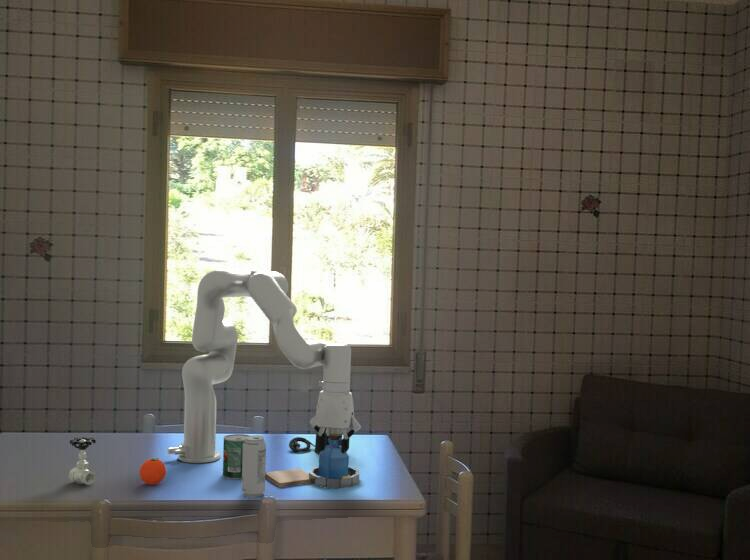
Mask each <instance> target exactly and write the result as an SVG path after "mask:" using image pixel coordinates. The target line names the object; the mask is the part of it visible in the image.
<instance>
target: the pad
mask: <svg viewBox="0 0 750 560" xmlns="http://www.w3.org/2000/svg"><path fill="white" fill-rule="evenodd" d="M265 480H268V481H269V482H271V483H272V484H274V485H275V486H276V487H278V488H279V487H280V488H285V487H284V486H287V487H293V486H292V485H294V486H298V485H299V484H301V485H307V483H308V484H312V483H311V478H309V472H306V471H305V470H303V469H302V468H299V467H298V468H292V469H291V468H290V469H283V470H281V469H280V470H274V471H267V472H266V471H265Z"/></svg>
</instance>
